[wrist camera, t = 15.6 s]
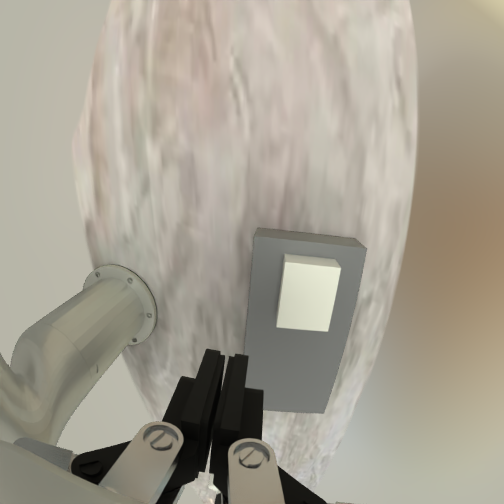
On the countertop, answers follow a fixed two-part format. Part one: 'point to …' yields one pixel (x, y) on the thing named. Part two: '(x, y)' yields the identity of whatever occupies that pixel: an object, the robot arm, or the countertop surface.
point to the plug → (307, 292)
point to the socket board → (295, 340)
